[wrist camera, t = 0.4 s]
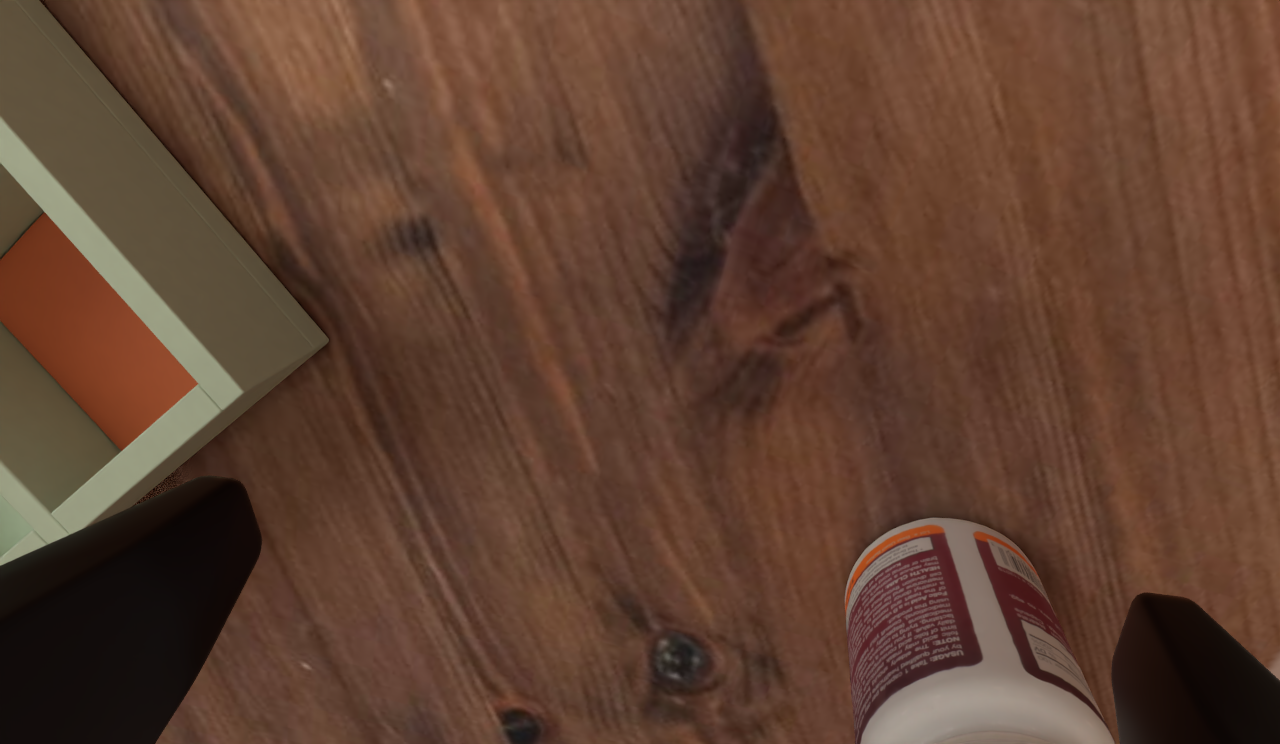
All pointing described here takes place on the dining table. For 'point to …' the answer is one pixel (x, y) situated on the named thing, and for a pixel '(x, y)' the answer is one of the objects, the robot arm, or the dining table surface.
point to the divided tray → (113, 298)
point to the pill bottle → (960, 644)
